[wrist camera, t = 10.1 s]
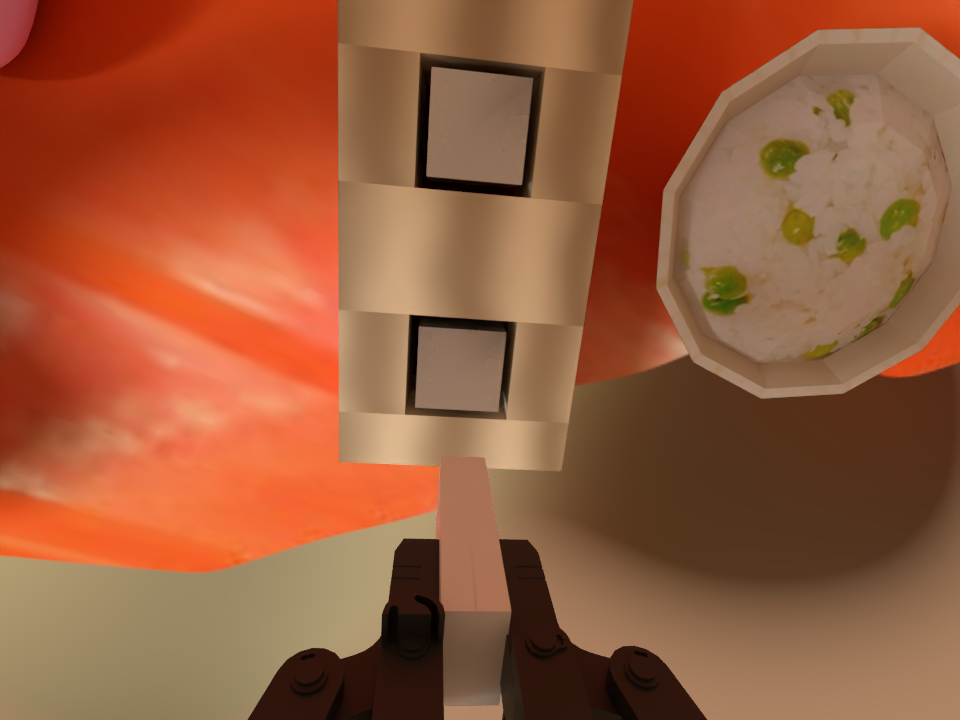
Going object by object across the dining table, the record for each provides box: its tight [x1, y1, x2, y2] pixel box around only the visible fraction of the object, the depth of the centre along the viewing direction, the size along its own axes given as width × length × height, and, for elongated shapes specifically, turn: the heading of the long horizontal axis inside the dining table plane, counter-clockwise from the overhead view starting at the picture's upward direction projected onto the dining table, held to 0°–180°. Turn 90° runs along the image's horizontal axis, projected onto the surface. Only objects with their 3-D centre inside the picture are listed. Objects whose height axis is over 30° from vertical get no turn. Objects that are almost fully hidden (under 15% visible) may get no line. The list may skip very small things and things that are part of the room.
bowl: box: [656, 27, 960, 398], centre depth 30 cm, size 19×19×10 cm
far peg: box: [415, 315, 506, 412], centre depth 32 cm, size 5×5×6 cm
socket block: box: [338, 0, 634, 471], centre depth 30 cm, size 14×26×7 cm, turn 175°
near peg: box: [426, 67, 533, 188], centre depth 28 cm, size 5×5×6 cm
